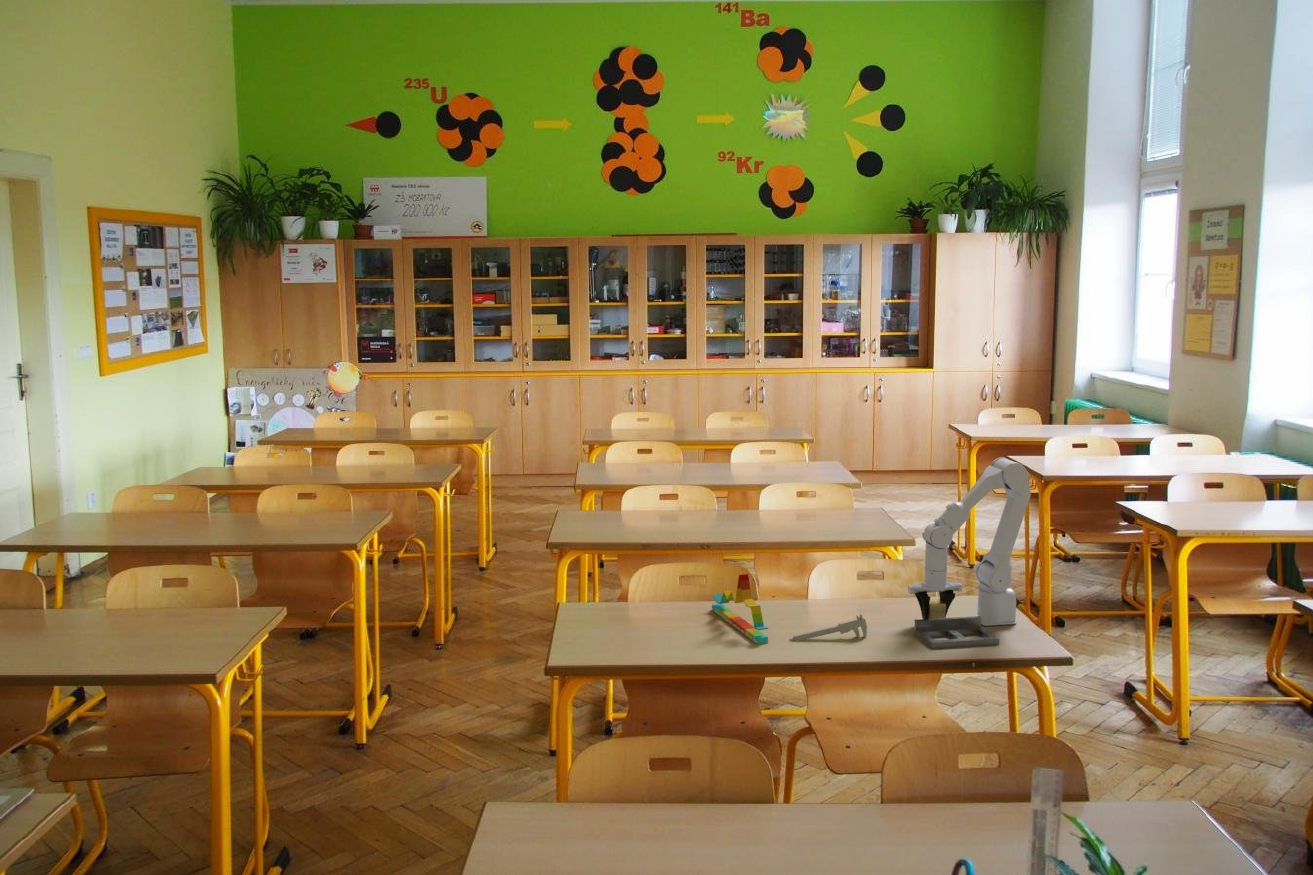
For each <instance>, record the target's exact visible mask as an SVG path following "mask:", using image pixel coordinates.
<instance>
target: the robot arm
mask: <svg viewBox="0 0 1313 875" xmlns="http://www.w3.org/2000/svg"><path fill="white" fill-rule="evenodd" d="M1029 478H1030V473H1029V471H1028V470H1027V469H1026V468H1025V466H1024V465H1023V464H1022V463H1019V462H1015V461H1013V460H1010V459H1008V458H1006V457H1003V456H1002V457H997V458H995V459H994V460H992V462H991V464H990V465H988V466H986V468H985V469H984V472H983V473H982V475H981V476H980V477H979V478H978V479H977V480H976V482H975V483H974V484H973V486H972V487H971V488H970V489H969V490H968V491H967V493H966V494H964V495H963V497H962V499H961V500H960V501H954V502H952V503H951V504H949V503H948V504H947V505H946V506H945V508H946V509H945V510H944V511H943V513H942V514H940V516H938V518H935V519H934V520H933V523H929V524H928V525H927V526H926V527H925V528H924V531H923V532H922V533H921V534H922V538H923V540H924V541H925V554H924V575H923V576H924V580H923V581H924V582H921V583H915V584H908V586H907V593H909V594H910V595H914V596H915V597H916V599H917V601H918V605H919V608H920V611H921V619H922V618H923V619H928V607H929V602H930V599H931V597H930V595H929V594H928V593H939V594H938V595H939V599H940V600H941V601H943V602H944V603H946V617H945V618H947V615H948V614H947V613H949V612H948V611H949V609H950V606H951V605H952V602H953V601H954V599H955V598H956V593H955V592H958V593H960V592H962V591H963V584H962V583H960V582H949V581H947V578H948V577H947V574H948V556H949V555H948V549H949V546H950V545H951V544H952V542H953V541H952V540H953V536H954V535H955V533H957V532H958V531H959V529H960V528H961V527H963V525H964V524H965V523H966V522H967V521H968V520H969V519H970V517H971V510H972V509H973V508H974V507H975V506H976V505H977V504H978V503H979V502H981V500H983V499H984V497H986V496H987V495H988V494H989V493H990V492H991V491H993V490H1000V489H1003V490H1004V491H1005V493H1006V495H1007V499H1006V501H1005V505H1004V507H1003V511H1002V513H1001V517H1000V520H999V523H998V525H997V528H996V532H995V534H994V537H993V541H992V543H991V547H990V550H989V551H988V552H986V553H985V554H984V555H983V557H982V560H981V562H980V563H979V564H978V565H977V566H976V569H975V571H974V572H975V577H976V579H977V580H978V582H979V584H978V595H977V596H978V597H977V614H976V615H975V614H972V615H970V617H972V616H980V617H981V626H984V627H987V626H988V627H989V626H1002V625H1003V626H1006V625H1017V624H1018V623H1017V621H1016V616H1017V614H1016V611H1017V597H1016V592H1015V591H1014V589H1012V588H1010V586H1011V585H1012V584H1011V583H1012V576H1011V575H1012V574H1011V573H1012V570H1013V565H1012V561H1011V556H1012V553H1013V550H1014V547H1015V544H1016V541H1017V538H1018V535H1019V532H1020V528H1021V526H1022V523H1023V519H1024V517H1025V514H1026V511H1027V508H1028V504H1029V502H1030V499H1031V494H1032V493H1031V487H1030V482H1029V481H1030V480H1029Z"/></svg>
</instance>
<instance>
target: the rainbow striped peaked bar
mask: <svg viewBox="0 0 1313 875" xmlns="http://www.w3.org/2000/svg"><path fill="white" fill-rule="evenodd" d="M737 581H738V582H737V587H736V590H733V589H732V590H725V591H724V590H723V593H714V594H712V596H713V599H714V601H715V604H714V603H713V604H712V605H711V611H712V610H713V611H712V612H714V613H715V614H716V613H717V614H716V615H718V616H719V615H720V616H721V619H723V620H724V619H725V620H724V621H725V622H727V623H728V622H729V624H730V626H732V625H733V626H732V627H734V628H735V629H736V630H738V631H739V632H741V633H742V634H743V635H744V636H746V638H748V639H750V640H751V641H752V642H753V643H755V644H757V645H763V644H768V643H769V636H768V635H766V634H765V633H763V632H762V631H763V630H768V629H769V627H768V626H765V625H764V620H763V615H762V614H763V613H762V609H761V604H757V603H756V602H755V600H754V599H753V598H752V596H753V595H752V591H751V583H750V578H749V574H748V573H744V574H739V575H738V580H737ZM730 601H733V602H734V603H735V604H740V603H744V604H745V606H746V608H750V611H751V616H752V622H753V625H752V624H751V623H749V622H748V621H747V620H746V619H745V618H742V617H741V616H740V615H738V614H737V613H736V612H735V611H733V610H731V609H730V608H729V607H727V606H726V605H725V604H729V603H730ZM720 616H719V617H720Z"/></svg>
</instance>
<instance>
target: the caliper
mask: <svg viewBox="0 0 1313 875" xmlns="http://www.w3.org/2000/svg"><path fill="white" fill-rule="evenodd" d="M855 618H856V619H854V618H853V619H851V620H847V621H842V622H839V623H838V624H836V625H831V626H828V627H827V626H826V627H824V628H820V629H815V630H811V631H806V632H802V633H797V634H793V637H790V638H789V639H788V641H790V642H793V641H794V642H799V640H801V641H805V640H810V639H813V638H817V637H822V636H826V635H830V634H834V633H839V632H840V634H841V635H844V634H847V633H849V632H851V631H853V632H854V634H855V636H856V638H858V639H859V638H861V636H860V631H859V627H861V631H862V635H863V638H866V637H867V635H868V634H867V633H868V626H867V621H866V618H865V617H863V614H861V613H860V614H859V616H858V615H855Z"/></svg>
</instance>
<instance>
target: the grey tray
mask: <svg viewBox="0 0 1313 875" xmlns="http://www.w3.org/2000/svg"><path fill="white" fill-rule="evenodd" d="M913 628H914V630H913V635H914V636H915V637H916V638H918V639H919V640H920V639H921V642H923V643H924V644H925V643H926V645H927V646H928V647H929V648H931V649H934V650H935V649H948V648H965V647H979V646H980V647H982V646H993V645H994V646H996V645H1000V638H999V637H997V636H996V635H994V634H993V633H992V632H990V631H988V630H987V629H985V628H984V627H982V624H981V617H980V616H972V617H971V616H959V617H946V618H937V619H922V618H920V619H914V627H913ZM973 635H977V636H979V637H965V636H973ZM942 637H948V638H949V639H948V638H947V639H937V640H936V639H934V638H942Z"/></svg>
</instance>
